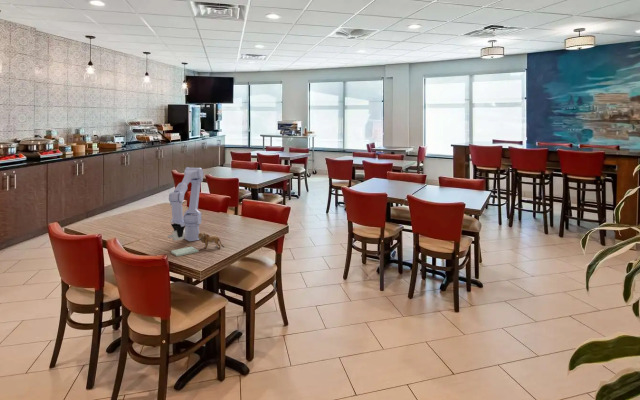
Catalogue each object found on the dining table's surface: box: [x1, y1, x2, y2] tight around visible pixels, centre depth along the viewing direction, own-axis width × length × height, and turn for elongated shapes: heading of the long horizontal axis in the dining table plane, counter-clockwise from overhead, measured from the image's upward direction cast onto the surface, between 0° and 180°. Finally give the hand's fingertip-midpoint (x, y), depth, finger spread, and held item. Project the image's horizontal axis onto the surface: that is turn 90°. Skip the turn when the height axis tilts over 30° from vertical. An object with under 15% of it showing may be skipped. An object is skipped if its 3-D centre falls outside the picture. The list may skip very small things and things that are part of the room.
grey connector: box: [167, 229, 186, 242], centre depth 226 cm, size 3×9×5 cm, turn 131°
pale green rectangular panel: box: [170, 245, 200, 258], centre depth 221 cm, size 9×12×1 cm
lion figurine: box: [198, 232, 225, 249], centre depth 229 cm, size 15×5×9 cm, turn 91°
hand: (179, 236), depth 227 cm, fingers closed on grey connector, 3 cm apart
